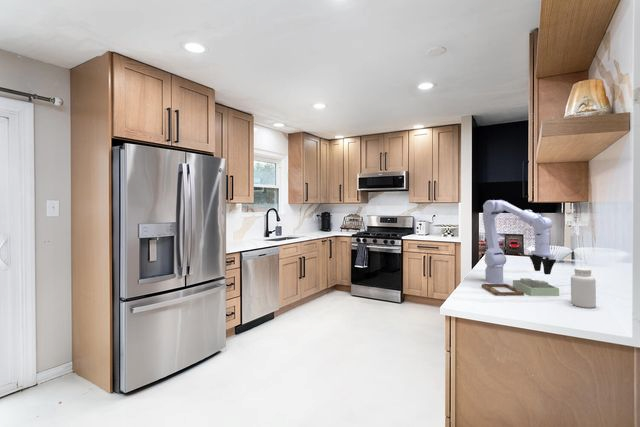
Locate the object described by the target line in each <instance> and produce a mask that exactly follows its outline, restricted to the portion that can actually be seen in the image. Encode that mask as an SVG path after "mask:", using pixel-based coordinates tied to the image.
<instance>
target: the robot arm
mask: <svg viewBox="0 0 640 427" xmlns="http://www.w3.org/2000/svg"><path fill="white" fill-rule="evenodd" d="M482 208H483V213H482V221H483V227H484V233H485V239H486V244H487V249H486V250H485V252H484V262H485V263H484V264H486V267H485V270H484V271H485V273H484V276H485V279H483V281H485V282H486V283H487V284H507V283H506V282H504V267H505V264H506V263H507V256H506V255H505V253H504V251H503V249H502V248H500V243H499V238H498V237H499V236H498V232H497V226H496V219H495V218H496V217H497V216H498V215H500V214H501V213H503V212H504V211H505V212H508V213H510V214H512V215H515V216H516V217H519V220H520V221H521V222H524V223H526V224H528V225H529V226H532V228H533V230H534V250H531V251H530V255H529V256H528V257H529V259H530V261H531V262H532V263H531V264H532V265H533V266H532V267H533V270H534V271H535V272H541V268H542V266H543V273H544V275H551V273H552V269H553V266H554V265H555V263H556V262H557V259H555V254H552V253H551V249H550V248H551V247H550V246H551V244H550V243H551V241H550V240H551V239H550V238H551V237H550V236H551V232H550V230H551V228H552V226H553V220H552V219H551V218H549V217H548V216H542V215H541V214H537V213H535V212H533V210H531V209H524V210H523V209H521V208H519V207H517V206H515V205H513V204H511V203H509V202H508V201H507V200H506V201H505V200H503V199H498V200H497V199H496V200H495V199H492V200H491V199H489V200H488V199H487V200H486V201H485V202H484V203H483V205H482Z"/></svg>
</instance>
